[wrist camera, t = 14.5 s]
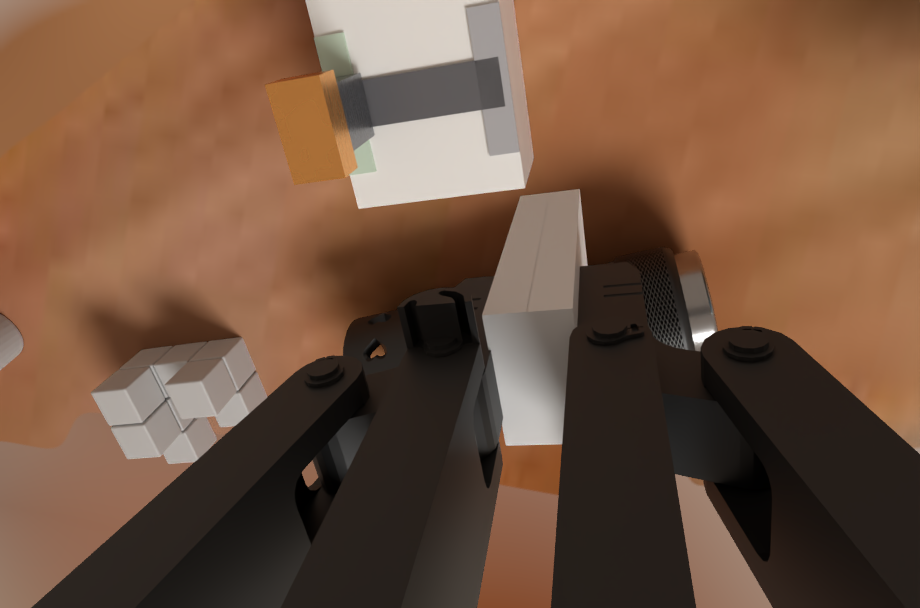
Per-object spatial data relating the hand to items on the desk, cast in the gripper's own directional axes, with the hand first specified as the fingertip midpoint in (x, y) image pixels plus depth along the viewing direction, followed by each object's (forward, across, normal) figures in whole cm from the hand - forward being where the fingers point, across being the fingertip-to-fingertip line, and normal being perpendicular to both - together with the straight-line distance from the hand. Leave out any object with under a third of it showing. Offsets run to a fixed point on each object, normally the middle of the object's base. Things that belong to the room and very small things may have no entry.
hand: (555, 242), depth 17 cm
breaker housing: (+34, +10, -1) cm, 36 cm away
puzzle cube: (+35, +40, +26) cm, 59 cm away
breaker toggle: (+26, +15, -1) cm, 30 cm away
